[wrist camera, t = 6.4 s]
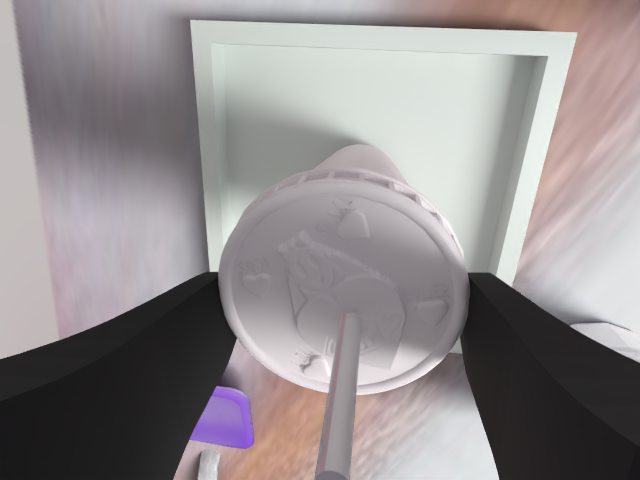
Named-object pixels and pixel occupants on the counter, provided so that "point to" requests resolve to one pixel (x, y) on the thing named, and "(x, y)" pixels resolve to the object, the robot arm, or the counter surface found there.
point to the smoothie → (345, 286)
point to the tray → (382, 118)
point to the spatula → (223, 427)
